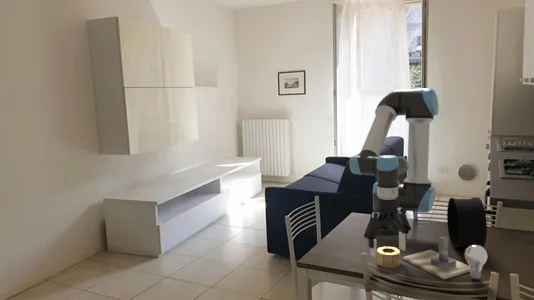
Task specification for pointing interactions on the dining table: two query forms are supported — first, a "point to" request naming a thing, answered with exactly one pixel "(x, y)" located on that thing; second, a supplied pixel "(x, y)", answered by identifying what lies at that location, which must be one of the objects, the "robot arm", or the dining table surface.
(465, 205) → the car wheel rim
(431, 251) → the shaft stand
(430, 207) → the robot arm
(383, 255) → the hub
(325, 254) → the dining table surface
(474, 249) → the light bulb
